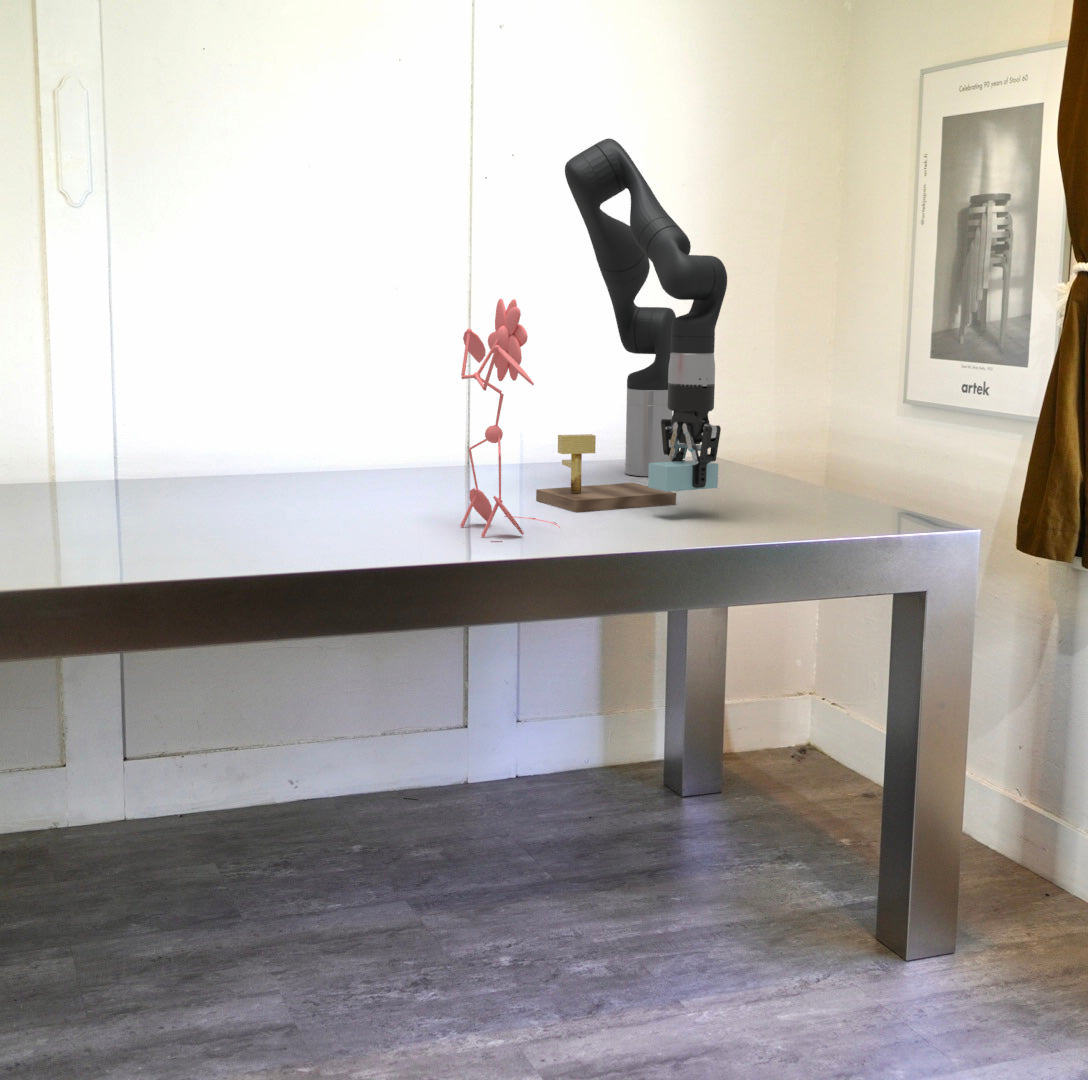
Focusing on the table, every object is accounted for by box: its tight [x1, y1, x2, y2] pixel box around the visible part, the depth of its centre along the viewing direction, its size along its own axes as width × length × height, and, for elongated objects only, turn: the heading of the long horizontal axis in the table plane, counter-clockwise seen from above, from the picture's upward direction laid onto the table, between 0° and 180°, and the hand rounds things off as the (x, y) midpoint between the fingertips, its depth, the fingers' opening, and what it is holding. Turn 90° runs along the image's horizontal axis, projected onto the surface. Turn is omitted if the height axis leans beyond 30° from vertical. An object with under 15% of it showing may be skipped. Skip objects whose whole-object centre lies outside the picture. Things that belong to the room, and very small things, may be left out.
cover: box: [647, 459, 719, 492], centre depth 218 cm, size 10×5×4 cm, turn 118°
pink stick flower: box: [459, 298, 561, 543], centre depth 202 cm, size 15×26×35 cm, turn 24°
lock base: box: [535, 482, 677, 513], centre depth 233 cm, size 20×14×2 cm
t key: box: [557, 433, 597, 493], centre depth 231 cm, size 7×6×10 cm
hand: (688, 484), depth 219 cm, fingers closed on cover, 5 cm apart
